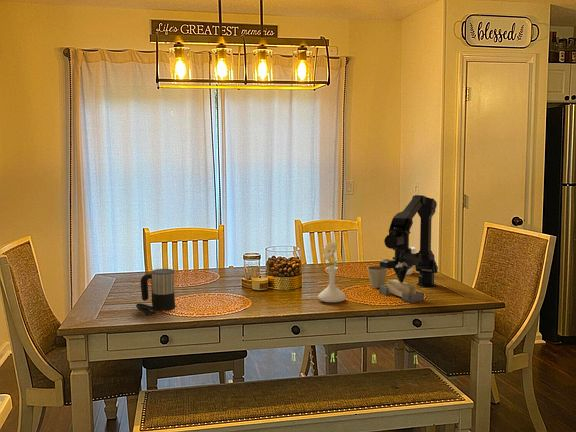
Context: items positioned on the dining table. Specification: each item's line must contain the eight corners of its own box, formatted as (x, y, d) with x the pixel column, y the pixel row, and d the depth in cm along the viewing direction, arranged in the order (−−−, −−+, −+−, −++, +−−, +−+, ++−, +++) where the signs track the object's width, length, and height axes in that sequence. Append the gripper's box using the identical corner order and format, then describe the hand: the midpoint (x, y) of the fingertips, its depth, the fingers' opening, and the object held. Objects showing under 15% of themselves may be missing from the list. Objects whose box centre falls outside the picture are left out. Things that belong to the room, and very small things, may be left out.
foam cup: (392, 273, 284) (392, 247, 282) (404, 270, 289) (405, 245, 288) (406, 276, 276) (406, 249, 275) (419, 273, 281) (419, 247, 280)
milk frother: (177, 304, 227) (176, 268, 225) (173, 315, 211) (171, 276, 210) (141, 305, 225) (139, 268, 224) (134, 316, 210) (132, 277, 208)
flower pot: (387, 289, 249) (387, 270, 248) (366, 288, 251) (366, 269, 250) (388, 284, 258) (388, 266, 257) (367, 283, 260) (367, 265, 259)
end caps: (393, 291, 246) (393, 283, 245) (423, 300, 229) (423, 293, 229) (379, 293, 242) (379, 285, 242) (409, 303, 225) (409, 295, 225)
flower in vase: (316, 298, 235) (316, 238, 232) (343, 297, 235) (343, 238, 233) (320, 306, 222) (320, 243, 219) (348, 305, 222) (349, 243, 220)
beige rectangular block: (394, 291, 242) (394, 279, 242) (416, 298, 230) (416, 286, 230) (387, 292, 241) (387, 280, 240) (408, 299, 228) (408, 287, 228)
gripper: (396, 250, 222) (396, 289, 223) (432, 246, 231) (431, 283, 232) (379, 246, 231) (378, 283, 233) (414, 242, 240) (413, 278, 242)
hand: (401, 282), depth 235 cm, fingers closed
